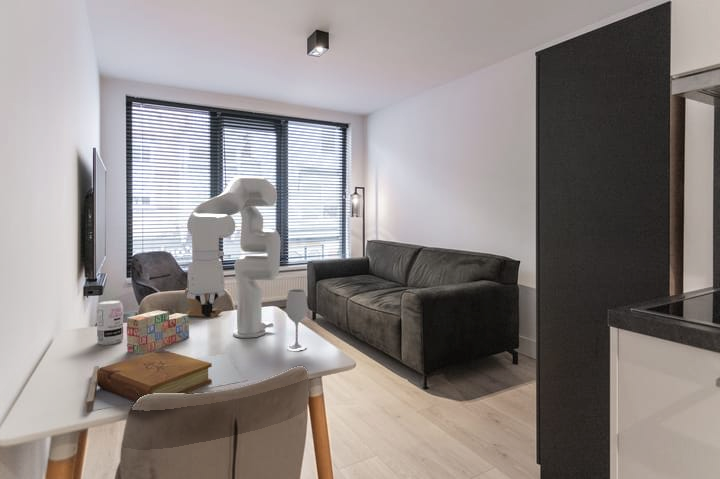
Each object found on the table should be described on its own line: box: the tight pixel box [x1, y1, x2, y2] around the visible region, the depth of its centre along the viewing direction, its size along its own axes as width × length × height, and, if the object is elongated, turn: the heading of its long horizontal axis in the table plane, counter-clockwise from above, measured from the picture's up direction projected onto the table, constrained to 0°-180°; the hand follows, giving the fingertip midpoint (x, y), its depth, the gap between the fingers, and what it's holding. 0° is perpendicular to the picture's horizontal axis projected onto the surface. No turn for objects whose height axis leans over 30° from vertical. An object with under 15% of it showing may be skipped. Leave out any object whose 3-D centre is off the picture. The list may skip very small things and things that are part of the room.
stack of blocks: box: [126, 310, 190, 355], centre depth 146 cm, size 21×6×12 cm, turn 156°
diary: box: [97, 349, 212, 403], centre depth 110 cm, size 23×19×6 cm
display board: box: [86, 353, 248, 413], centre depth 116 cm, size 38×26×3 cm
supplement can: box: [96, 299, 124, 346], centre depth 148 cm, size 8×8×15 cm
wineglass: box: [285, 288, 308, 349], centre depth 143 cm, size 8×8×21 cm
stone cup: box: [184, 287, 223, 318], centre depth 188 cm, size 15×12×15 cm
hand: (206, 315), depth 121 cm, fingers closed
